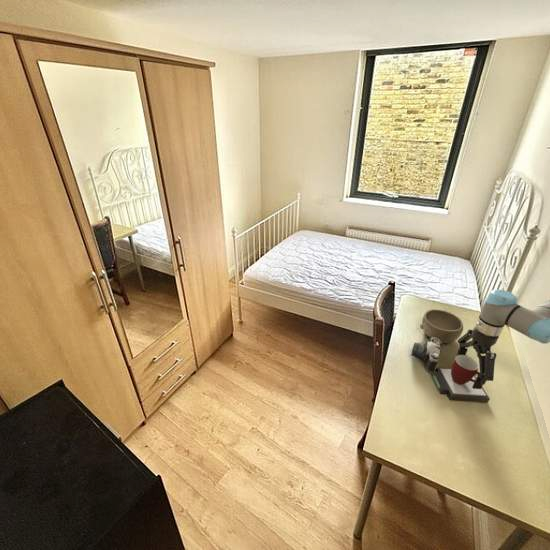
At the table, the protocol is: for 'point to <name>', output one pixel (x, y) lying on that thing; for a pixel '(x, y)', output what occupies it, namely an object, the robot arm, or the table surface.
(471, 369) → the mug
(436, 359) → the camera
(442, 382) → the scale
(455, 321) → the bowl
